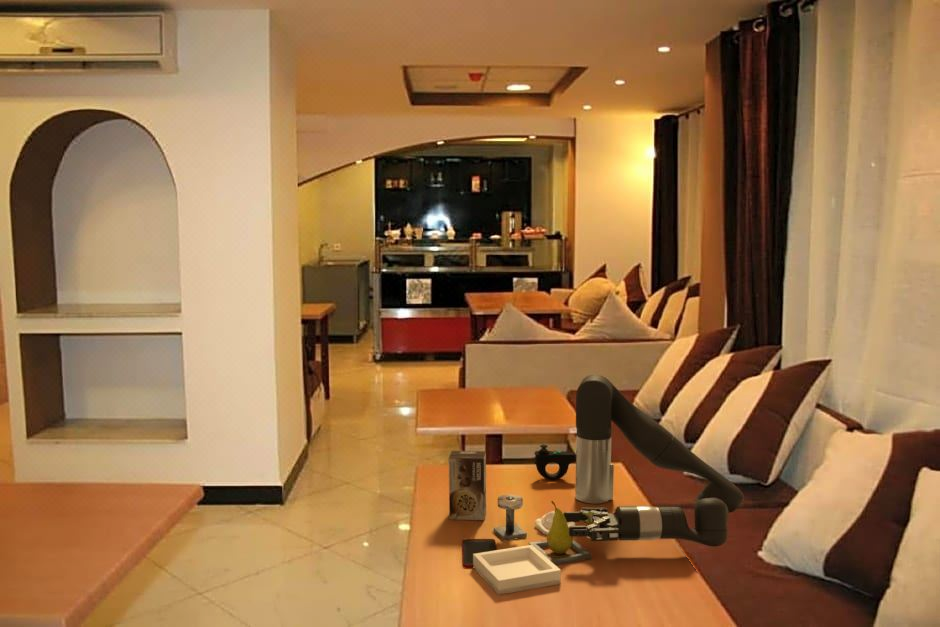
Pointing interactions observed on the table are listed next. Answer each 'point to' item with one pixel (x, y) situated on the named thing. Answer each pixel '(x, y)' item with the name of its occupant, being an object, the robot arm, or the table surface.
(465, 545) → the cell phone
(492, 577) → the tray
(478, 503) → the coffee box
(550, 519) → the rose
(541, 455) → the controller
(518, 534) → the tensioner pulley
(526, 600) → the table surface
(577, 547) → the grey square frame
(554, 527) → the fruit
